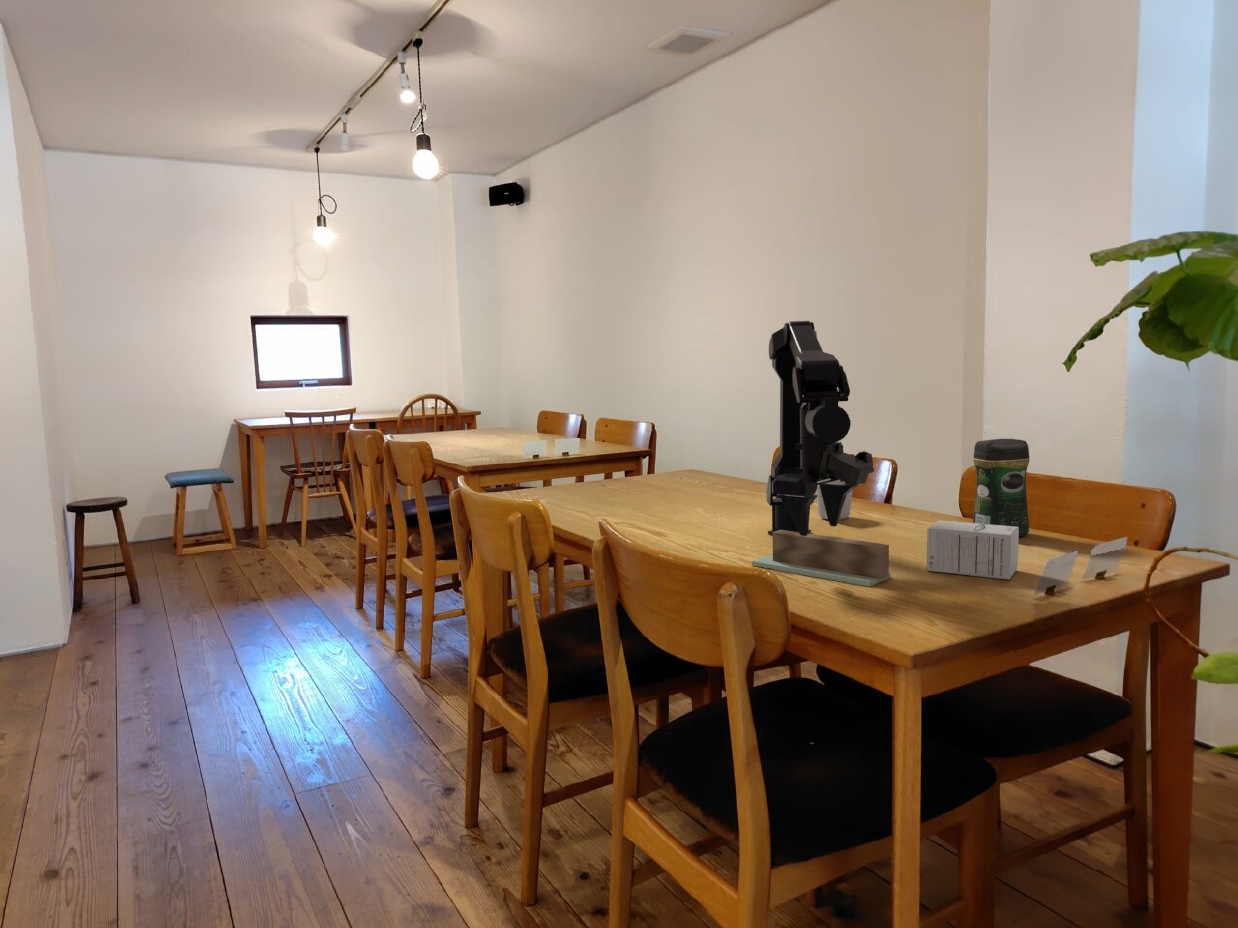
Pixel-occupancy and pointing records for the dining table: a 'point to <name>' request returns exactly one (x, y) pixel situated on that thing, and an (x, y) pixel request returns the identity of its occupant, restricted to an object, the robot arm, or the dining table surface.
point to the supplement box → (973, 549)
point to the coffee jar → (1001, 483)
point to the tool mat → (816, 572)
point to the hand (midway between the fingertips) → (818, 530)
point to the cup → (821, 506)
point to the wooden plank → (832, 553)
